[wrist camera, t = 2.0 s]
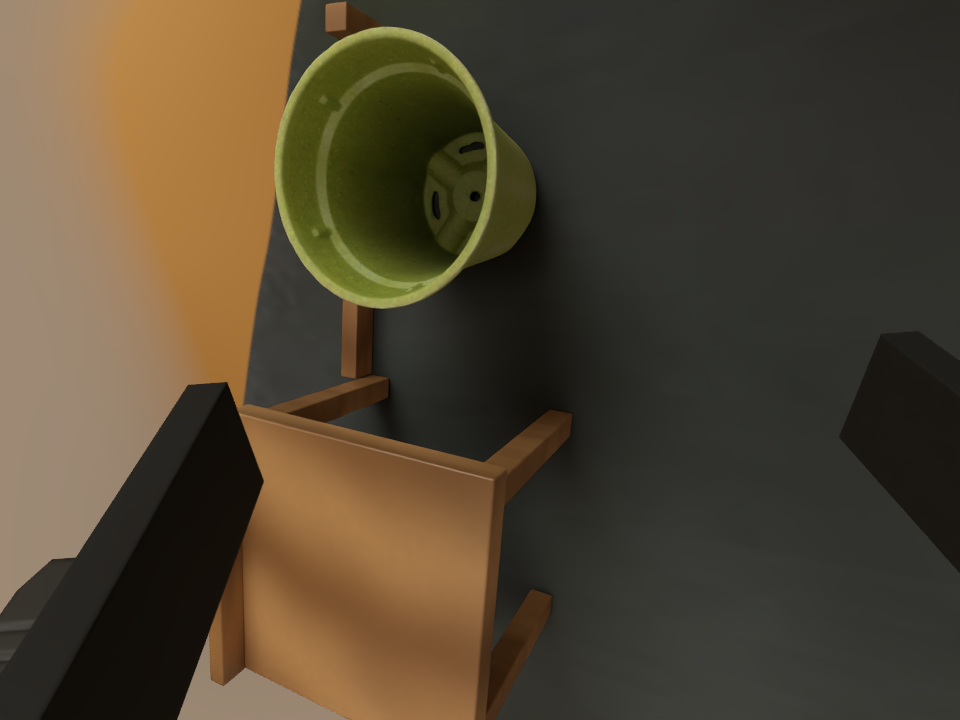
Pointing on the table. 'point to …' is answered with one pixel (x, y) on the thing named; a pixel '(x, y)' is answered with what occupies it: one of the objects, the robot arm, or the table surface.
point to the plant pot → (395, 170)
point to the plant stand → (376, 551)
